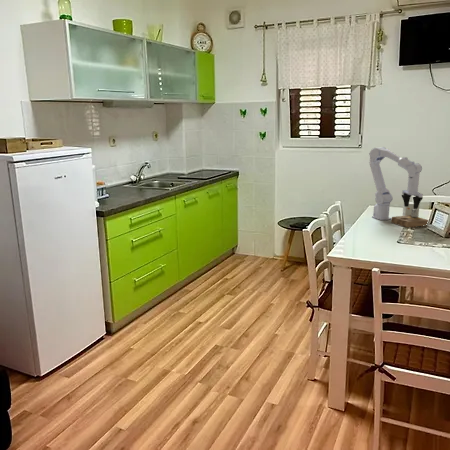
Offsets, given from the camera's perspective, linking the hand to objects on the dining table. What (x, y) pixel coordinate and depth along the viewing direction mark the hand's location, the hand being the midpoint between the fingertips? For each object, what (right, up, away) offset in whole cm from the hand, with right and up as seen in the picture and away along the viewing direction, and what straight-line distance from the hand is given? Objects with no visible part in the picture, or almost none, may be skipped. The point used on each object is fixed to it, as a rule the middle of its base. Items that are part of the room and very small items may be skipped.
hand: (410, 207), depth 254 cm
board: (-1, -10, +1) cm, 10 cm away
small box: (+5, -7, +13) cm, 15 cm away
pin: (+2, -9, +2) cm, 9 cm away
